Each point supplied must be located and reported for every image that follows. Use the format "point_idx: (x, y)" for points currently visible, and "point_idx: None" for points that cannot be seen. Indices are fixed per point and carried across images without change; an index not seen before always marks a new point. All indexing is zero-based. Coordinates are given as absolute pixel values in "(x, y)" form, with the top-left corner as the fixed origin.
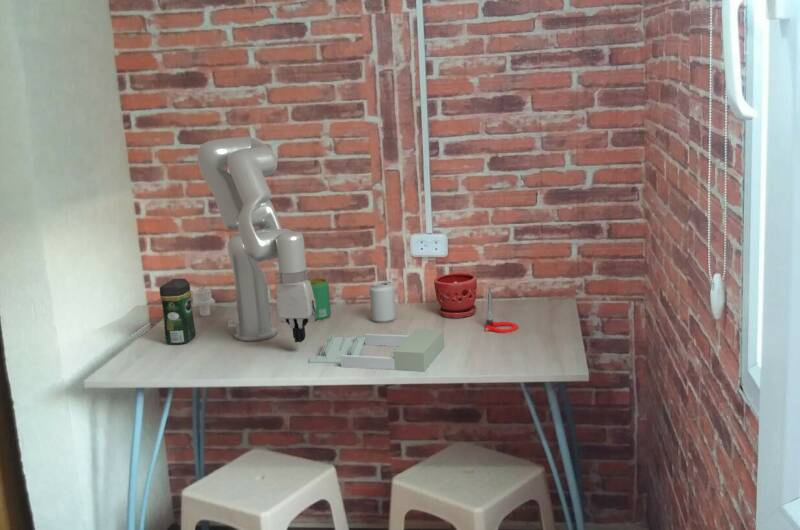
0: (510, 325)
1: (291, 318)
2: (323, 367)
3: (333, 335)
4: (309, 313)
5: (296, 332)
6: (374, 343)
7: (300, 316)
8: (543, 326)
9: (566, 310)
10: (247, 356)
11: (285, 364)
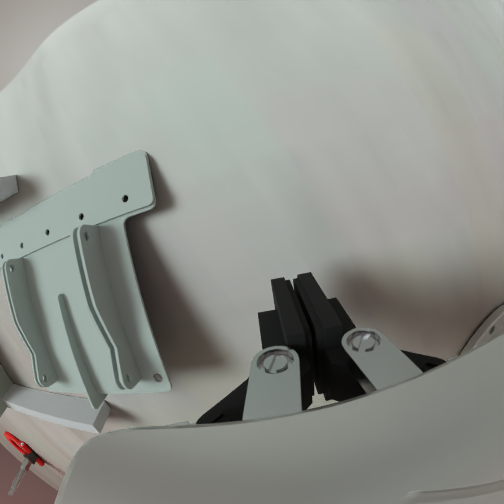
0: (23, 451)
1: (395, 384)
2: (59, 134)
3: (119, 386)
4: (65, 478)
5: (309, 313)
6: (79, 401)
7: (208, 449)
8: (7, 443)
9: (40, 477)
10: (472, 160)
11: (254, 85)
